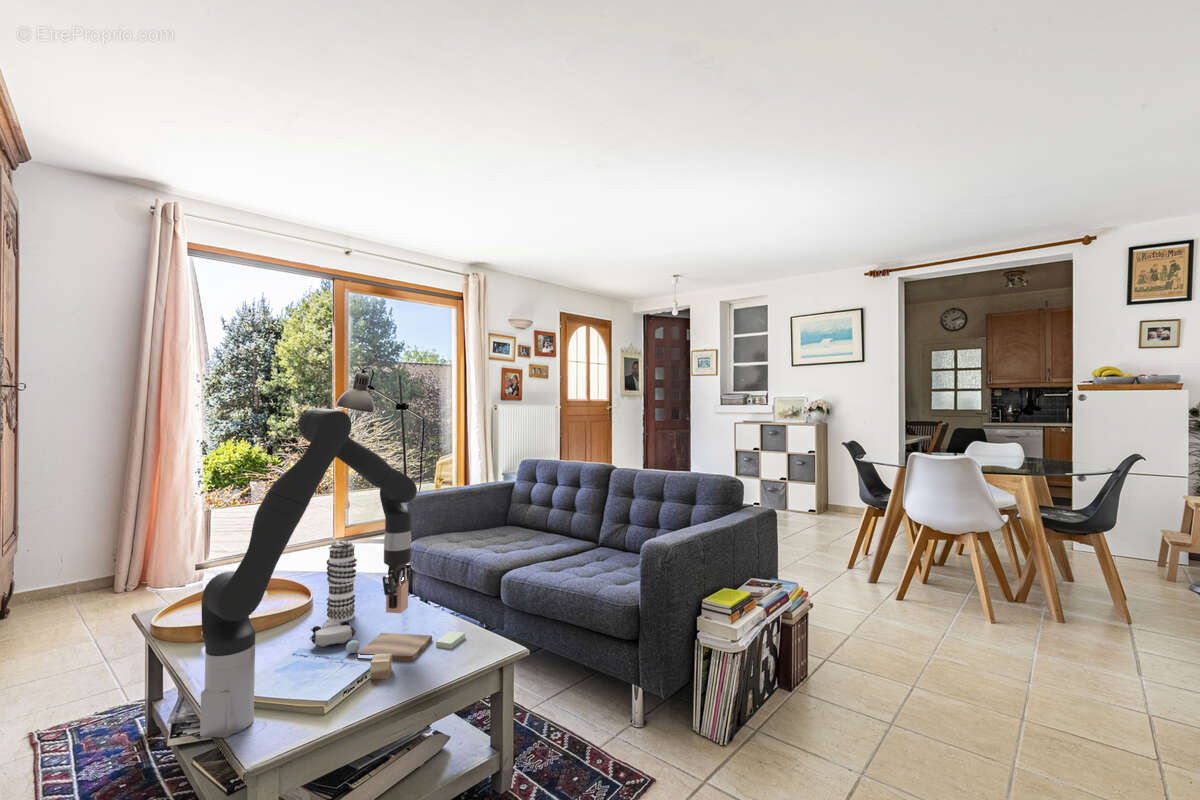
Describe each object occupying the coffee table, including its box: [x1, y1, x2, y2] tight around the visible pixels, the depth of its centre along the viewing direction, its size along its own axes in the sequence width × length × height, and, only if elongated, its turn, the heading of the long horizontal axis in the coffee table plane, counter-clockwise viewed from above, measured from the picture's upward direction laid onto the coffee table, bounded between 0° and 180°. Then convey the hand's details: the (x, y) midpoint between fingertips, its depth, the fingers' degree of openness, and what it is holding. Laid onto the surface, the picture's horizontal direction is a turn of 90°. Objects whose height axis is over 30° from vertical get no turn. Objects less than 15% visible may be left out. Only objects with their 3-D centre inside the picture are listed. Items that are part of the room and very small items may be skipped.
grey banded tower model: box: [326, 540, 358, 623], centre depth 185 cm, size 9×9×25 cm
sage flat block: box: [435, 630, 466, 650], centre depth 167 cm, size 8×5×2 cm, turn 164°
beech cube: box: [369, 654, 393, 680], centre depth 146 cm, size 4×4×4 cm
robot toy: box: [309, 620, 358, 648], centre depth 167 cm, size 12×4×15 cm
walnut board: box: [356, 632, 433, 662], centre depth 161 cm, size 14×16×2 cm
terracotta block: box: [385, 580, 409, 614], centre depth 162 cm, size 4×4×8 cm
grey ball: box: [345, 639, 361, 654], centre depth 158 cm, size 4×4×4 cm
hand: (396, 604), depth 162 cm, fingers closed on terracotta block, 4 cm apart
